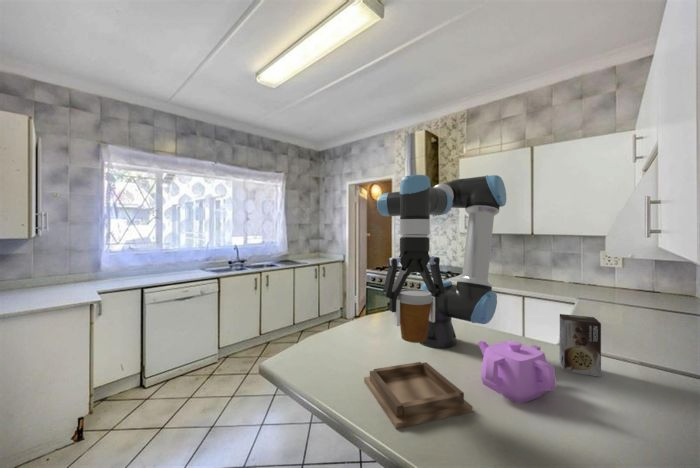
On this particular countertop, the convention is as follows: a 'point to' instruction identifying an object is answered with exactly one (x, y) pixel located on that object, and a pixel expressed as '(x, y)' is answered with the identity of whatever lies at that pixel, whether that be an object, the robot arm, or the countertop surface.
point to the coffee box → (580, 344)
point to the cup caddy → (415, 394)
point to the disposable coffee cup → (414, 314)
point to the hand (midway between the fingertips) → (413, 322)
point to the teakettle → (516, 370)
